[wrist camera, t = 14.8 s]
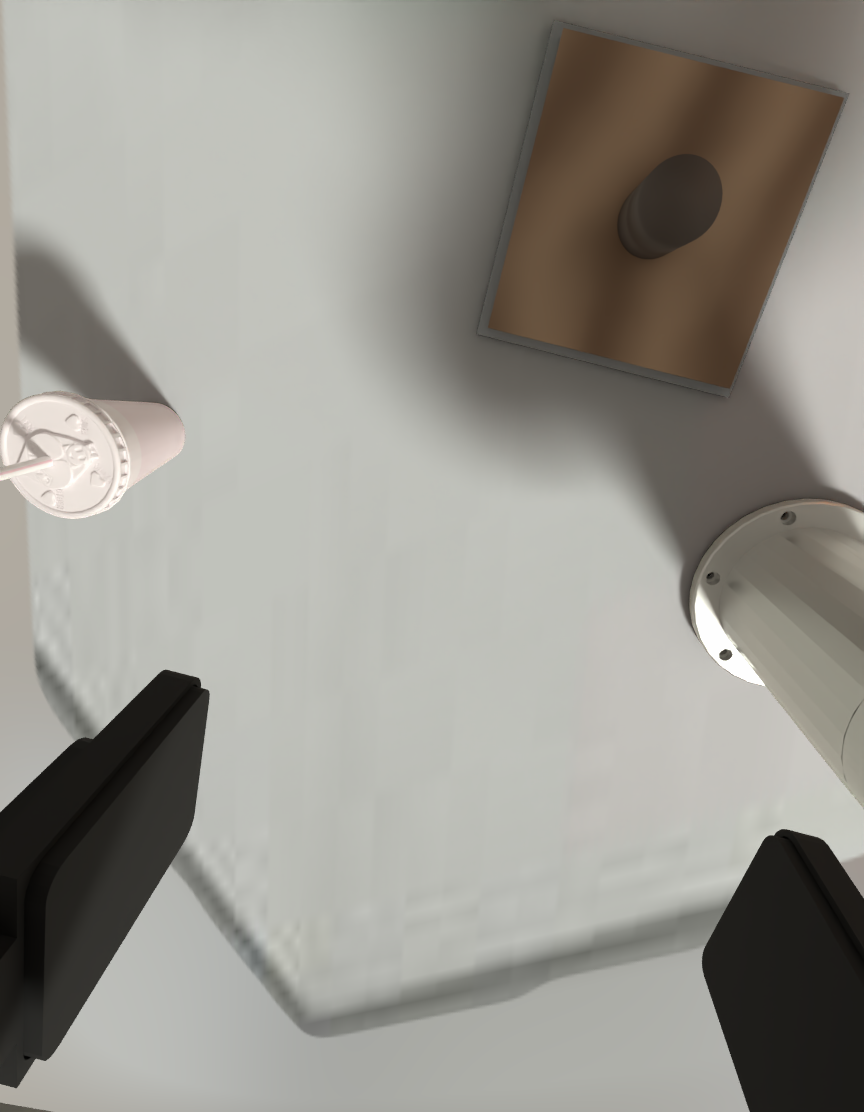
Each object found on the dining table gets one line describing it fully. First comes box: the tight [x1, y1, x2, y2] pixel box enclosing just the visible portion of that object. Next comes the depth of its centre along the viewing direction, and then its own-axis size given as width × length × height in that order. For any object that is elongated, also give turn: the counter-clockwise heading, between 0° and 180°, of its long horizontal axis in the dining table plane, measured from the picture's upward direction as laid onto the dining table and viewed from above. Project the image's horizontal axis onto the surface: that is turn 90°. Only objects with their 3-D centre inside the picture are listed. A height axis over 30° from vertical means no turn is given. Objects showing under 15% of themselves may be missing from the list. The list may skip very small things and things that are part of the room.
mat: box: [476, 20, 849, 398], centre depth 33 cm, size 15×15×1 cm
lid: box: [488, 28, 844, 389], centre depth 30 cm, size 14×14×6 cm
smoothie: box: [0, 391, 185, 519], centre depth 33 cm, size 6×6×14 cm
